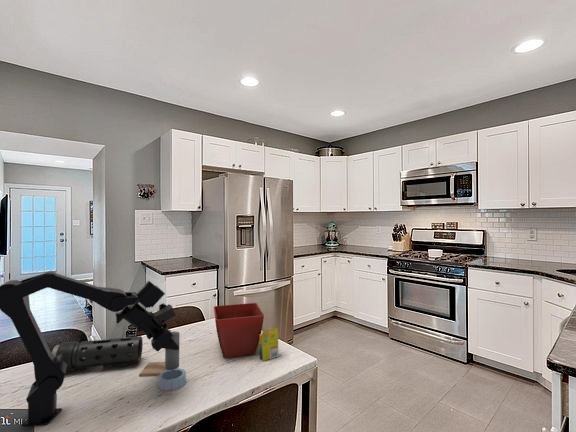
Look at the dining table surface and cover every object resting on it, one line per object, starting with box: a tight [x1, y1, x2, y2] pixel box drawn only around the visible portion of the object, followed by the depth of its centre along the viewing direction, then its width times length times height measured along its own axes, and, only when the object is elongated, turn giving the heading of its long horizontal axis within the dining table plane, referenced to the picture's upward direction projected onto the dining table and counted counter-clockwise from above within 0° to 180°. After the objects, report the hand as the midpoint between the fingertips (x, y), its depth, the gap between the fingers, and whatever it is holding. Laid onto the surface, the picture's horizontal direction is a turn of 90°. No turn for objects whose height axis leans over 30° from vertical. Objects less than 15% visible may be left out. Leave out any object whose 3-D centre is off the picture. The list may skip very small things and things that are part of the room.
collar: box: [157, 367, 187, 392], centre depth 102 cm, size 8×8×3 cm
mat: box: [138, 361, 166, 377], centre depth 111 cm, size 9×9×1 cm
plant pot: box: [213, 302, 265, 359], centre depth 128 cm, size 19×19×17 cm
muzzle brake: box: [51, 335, 143, 372], centre depth 113 cm, size 10×28×10 cm, turn 105°
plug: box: [164, 331, 181, 370], centre depth 102 cm, size 4×4×11 cm
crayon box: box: [258, 327, 279, 362], centre depth 121 cm, size 7×3×12 cm, turn 122°
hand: (176, 346), depth 103 cm, fingers closed on plug, 4 cm apart
